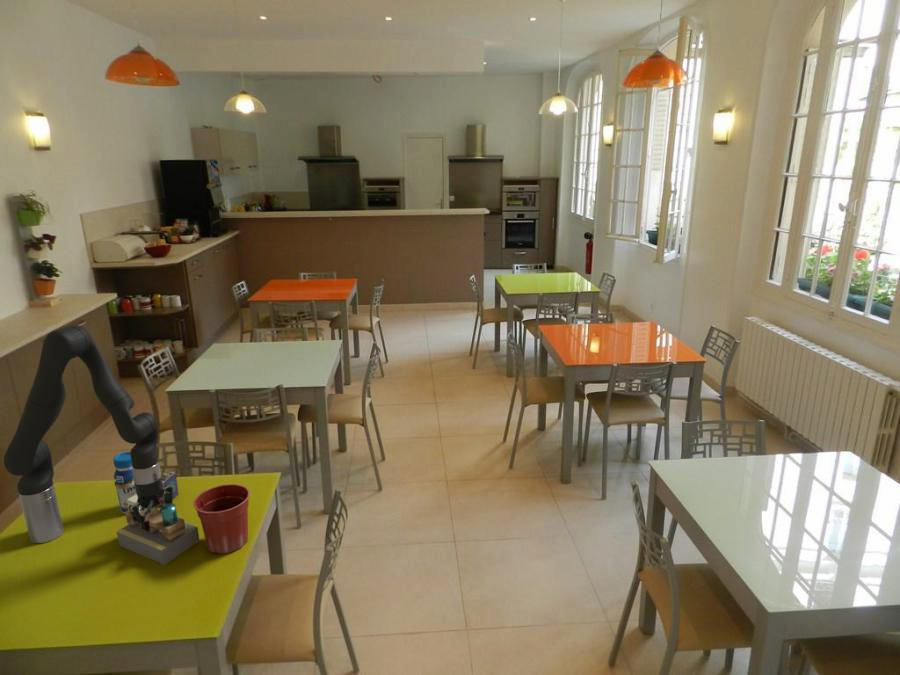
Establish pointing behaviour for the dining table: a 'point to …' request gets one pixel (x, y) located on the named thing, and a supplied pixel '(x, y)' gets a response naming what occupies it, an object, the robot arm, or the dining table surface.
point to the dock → (156, 542)
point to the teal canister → (169, 514)
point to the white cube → (132, 501)
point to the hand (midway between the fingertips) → (155, 524)
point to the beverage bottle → (124, 479)
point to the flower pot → (224, 516)
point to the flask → (170, 482)
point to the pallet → (160, 524)
